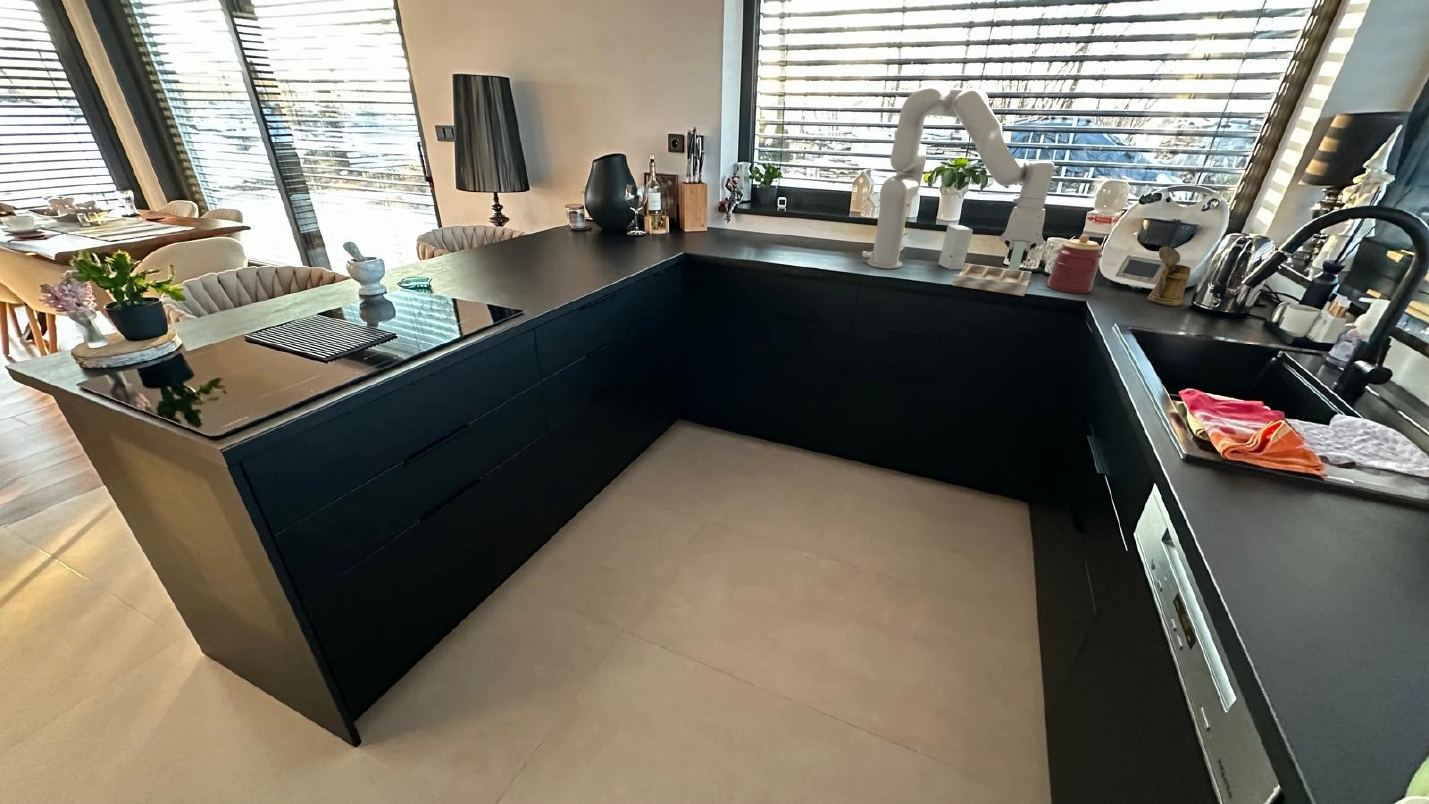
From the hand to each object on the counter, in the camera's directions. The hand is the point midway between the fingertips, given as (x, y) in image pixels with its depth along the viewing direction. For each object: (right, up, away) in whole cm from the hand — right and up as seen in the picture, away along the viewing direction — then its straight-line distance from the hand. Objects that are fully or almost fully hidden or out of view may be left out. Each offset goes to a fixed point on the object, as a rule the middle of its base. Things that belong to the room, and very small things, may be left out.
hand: (1015, 261), depth 184 cm
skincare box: (-10, +4, +27) cm, 29 cm away
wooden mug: (+40, -16, -10) cm, 44 cm away
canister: (+19, -8, +3) cm, 21 cm away
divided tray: (-5, -6, +6) cm, 10 cm away
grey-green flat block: (0, -2, +1) cm, 2 cm away
